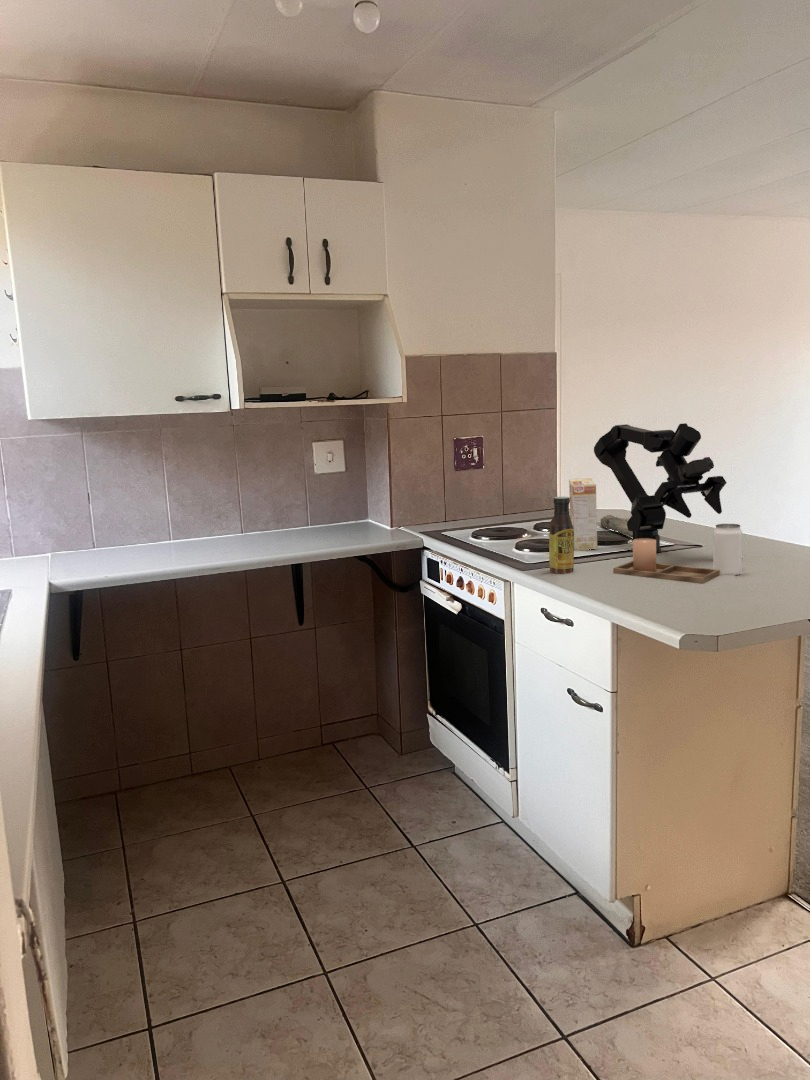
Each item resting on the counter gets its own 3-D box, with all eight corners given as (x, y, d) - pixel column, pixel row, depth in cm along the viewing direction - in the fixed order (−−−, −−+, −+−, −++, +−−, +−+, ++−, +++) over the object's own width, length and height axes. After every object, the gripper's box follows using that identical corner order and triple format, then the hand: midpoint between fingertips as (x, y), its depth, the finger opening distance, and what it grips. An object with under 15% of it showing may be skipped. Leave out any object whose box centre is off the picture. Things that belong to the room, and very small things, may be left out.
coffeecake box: (570, 541, 251) (568, 478, 248) (593, 540, 250) (592, 477, 247) (573, 550, 237) (571, 484, 233) (598, 550, 236) (596, 483, 232)
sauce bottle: (559, 577, 206) (557, 499, 202) (544, 573, 211) (542, 497, 208) (580, 573, 209) (578, 496, 205) (564, 569, 214) (562, 494, 211)
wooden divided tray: (613, 575, 204) (613, 568, 204) (632, 567, 211) (632, 560, 211) (702, 586, 189) (702, 578, 188) (720, 577, 196) (720, 569, 195)
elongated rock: (636, 549, 241) (667, 548, 243) (637, 532, 240) (668, 530, 242) (592, 525, 275) (620, 524, 277) (593, 509, 274) (621, 508, 275)
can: (740, 570, 201) (741, 523, 199) (742, 576, 195) (743, 527, 193) (713, 570, 203) (713, 523, 201) (713, 576, 197) (714, 527, 195)
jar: (629, 572, 204) (628, 541, 202) (639, 568, 208) (639, 537, 206) (649, 575, 200) (649, 543, 198) (660, 570, 204) (660, 539, 202)
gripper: (660, 450, 203) (689, 498, 195) (721, 444, 209) (752, 491, 201) (642, 479, 212) (668, 526, 204) (701, 472, 218) (729, 518, 209)
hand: (705, 514), depth 204 cm, fingers open, 9 cm apart
